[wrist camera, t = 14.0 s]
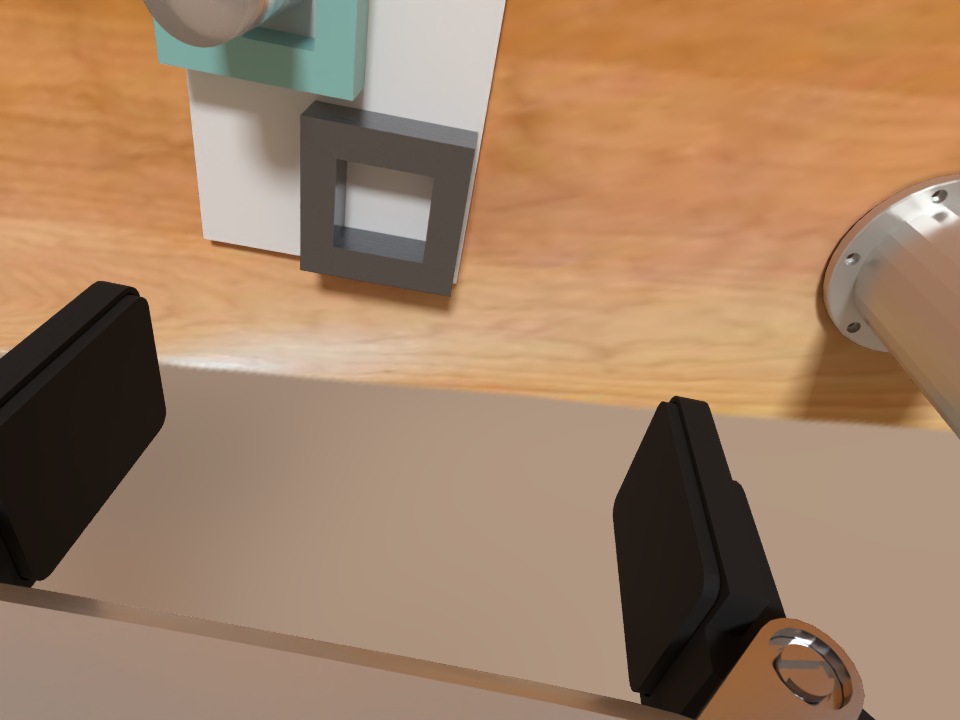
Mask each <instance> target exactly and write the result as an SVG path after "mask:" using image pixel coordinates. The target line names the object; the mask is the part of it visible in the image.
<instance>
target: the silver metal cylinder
mask: <svg viewBox="0 0 960 720" xmlns="http://www.w3.org/2000/svg"><path fill="white" fill-rule="evenodd" d="M303 1H304V0H144V3H145V5H146V7H147V8H148V10H149V12H150V13H151V15H152V16H153V18H154V19H155V20H156V21H157V23H158V24H159V25H160V26H161V27H162V28H163V29H164V30H165V31H166V32H168V33H169V34H170V35H171V36H173V37H174V38H176V39H177V40H179V41H181V42H183V43H185V44H188V45H191V46H195V47H201V48H209V47H215V46H218V45H221V44H223V43H225V42H227V41H229V40H231V39H233V38H235V37H237V36H239V35H241V34H243V33H245V32H247V31H249V30H251V29H253V28H255V27H257V26H259V25H261V24H263V23H265V22H267V21H269V20H271V19H273V18H275V17H277V16H279V15H281V14H283V13H285V12H287V11H289V10H291V9H294V8H295V7H297V6H299V5H300V4H301V3H302V2H303Z"/></svg>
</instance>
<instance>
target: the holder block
mask: <svg viewBox="0 0 960 720" xmlns="http://www.w3.org/2000/svg"><path fill="white" fill-rule="evenodd" d="M477 137H478V132H475V131H470V130H465V129H460V128H454V127H449V126H444V125H439V124H434V123H429V122H424V121H419V120H413V119H408V118H403V117H398V116H393V115H388V114H383V113H378V112H372V111H367V110H362V109H357V108H352V107H347V106H342V105H336V104H331V103H326V102H321V101H316V100H315V101H314V102H313V103H312V104H311V105H310V106H309V107H308V108H307V109H306V110H305V111H304V112H303V113H302V114H301V115H300V270H303V271H309V272H314V273H320V274H325V275H331V276H337V277H342V278H348V279H354V280H359V281H365V282H370V283H376V284H382V285H387V286H393V287H399V288H404V289H410V290H415V291H421V292H427V293H432V294H438V295H444V296H449V297H450V295H451V289H452V284H453V278H454V272H455V266H456V261H457V255H458V249H459V243H460V237H461V231H462V225H463V219H464V214H465V208H466V202H467V196H468V190H469V184H470V178H471V173H472V167H473V161H474V155H475V149H476V143H477ZM347 161H350V162H356V163H361V164H366V165H371V166H377V167H382V168H387V169H392V170H398V171H403V172H408V173H414V174H419V175H424V176H429V177H434V183H433V190H432V198H431V205H430V213H429V220H428V228H427V235H426V241H422V240H417V239H411V238H406V237H401V236H395V235H390V234H384V233H379V232H373V231H368V230H362V229H357V228H351V227H346V226H344V225H345V203H346V181H347Z"/></svg>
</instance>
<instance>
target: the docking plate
mask: <svg viewBox="0 0 960 720" xmlns="http://www.w3.org/2000/svg"><path fill="white" fill-rule="evenodd" d="M505 2H506V0H369V13H368V30H367V47H366V64H365V82H364V88H363V89H362V90H361V91H360V93H359V94H358V95H357V96H356V98H355V99H354V100H353V101H350V100H345V99H340V98H335V97H330V96H325V95H320V94H314V93H309V92H304V91H299V90H294V89H289V88H284V87H279V86H274V85H268V84H263V83H258V82H253V81H248V80H243V79H238V78H233V77H228V76H222V75H217V74H212V73H207V72H202V71H197V70H192V69H187V68H186V73H187V83H188V93H189V102H190V112H191V121H192V131H193V140H194V150H195V160H196V169H197V179H198V188H199V198H200V208H201V217H202V227H203V236H204V239H209V240H214V241H220V242H226V243H231V244H237V245H242V246H248V247H253V248H259V249H265V250H270V251H276V252H281V253H287V254H292V255H298V256H300V115H301V114H302V113H303V112H304V111H305V110H306V109H307V108H308V107H309V106H310V105H311V104H312V103H313V102H314V101H315V100H316V101H321V102H326V103H331V104H336V105H342V106H347V107H352V108H357V109H362V110H367V111H372V112H378V113H383V114H388V115H393V116H398V117H403V118H408V119H413V120H419V121H424V122H429V123H434V124H439V125H444V126H449V127H454V128H460V129H465V130H470V131H475V132H478V137H477V143H476V149H475V155H474V161H473V167H472V173H471V178H470V184H469V190H468V196H467V202H466V208H465V214H464V219H463V225H462V231H461V237H460V243H459V249H458V255H457V261H456V266H455V272H454V278H453V283H454V284H456V283H457V277H458V271H459V265H460V260H461V254H462V248H463V242H464V237H465V231H466V225H467V220H468V214H469V208H470V202H471V197H472V191H473V185H474V179H475V174H476V168H477V162H478V156H479V151H480V145H481V139H482V134H483V128H484V122H485V116H486V111H487V105H488V99H489V93H490V88H491V82H492V76H493V71H494V65H495V59H496V53H497V48H498V42H499V36H500V30H501V25H502V19H503V13H504V7H505ZM315 12H316V0H304V1H303V2H302V3H301V4H300V5H299V6H297V7H295V8H294V9H291V10H289V11H287V12H285V13H283V14H281V15H279V16H277V17H275V18H273V19H271V20H269V21H267V22H265V23H263V24H261V25H259V26H258V27H263V28H268V29H273V30H277V31H282V32H287V33H292V34H297V35H302V36H307V37H312V38H315ZM433 183H434V177H429V176H424V175H419V174H414V173H408V172H403V171H398V170H392V169H387V168H382V167H377V166H371V165H366V164H361V163H356V162H350V161H347V181H346V203H345V225H344V226H346V227H351V228H357V229H362V230H368V231H373V232H379V233H384V234H390V235H395V236H401V237H406V238H411V239H417V240H422V241H426V235H427V228H428V220H429V213H430V205H431V198H432V190H433Z"/></svg>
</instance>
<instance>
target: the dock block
mask: <svg viewBox="0 0 960 720" xmlns="http://www.w3.org/2000/svg"><path fill="white" fill-rule="evenodd" d="M368 13H369V0H316V12H315V38H312V37H307V36H302V35H297V34H292V33H287V32H282V31H277V30H273V29H268V28H263V27H258V26H257V27H255V28H253V29H251V30H249V31H247V32H245V33H243V34H241V35H239V36H237V37H235V38H233V39H231V40H229V41H227V42H225V43H223V44H221V45H218V46H215V47H209V48H201V47H195V46H191V45H188V44H185V43H183V42H181V41H179V40H177V39H176V38H174V37H173V36H171V35H170V34H169V33H168V32H166V31H165V30H164V29H163V28H162V27H161V26H160V25H159V24H158V23H157V21H156V20H155V19H154V18H153V21H154V29H155V37H156V44H157V52H158V60H159V63H161V64H166V65H171V66H176V67H182V68H187V69H192V70H197V71H202V72H207V73H212V74H217V75H222V76H228V77H233V78H238V79H243V80H248V81H253V82H258V83H263V84H268V85H274V86H279V87H284V88H289V89H294V90H299V91H304V92H309V93H314V94H320V95H325V96H330V97H335V98H340V99H345V100H350V101H353V100H354V99H355V98H356V96H357V95H358V94H359V93H360V91H361V90H362V89H363V88H364V82H365V64H366V47H367V30H368Z"/></svg>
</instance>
